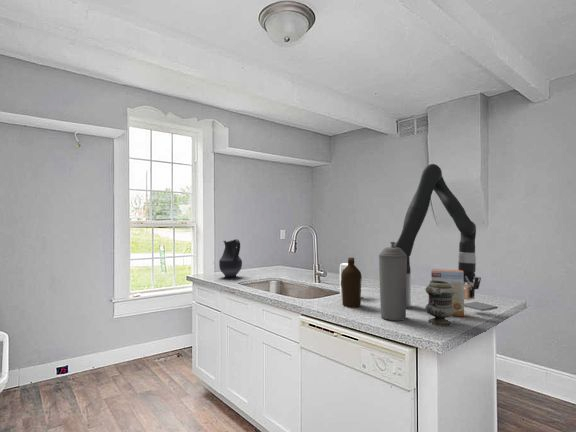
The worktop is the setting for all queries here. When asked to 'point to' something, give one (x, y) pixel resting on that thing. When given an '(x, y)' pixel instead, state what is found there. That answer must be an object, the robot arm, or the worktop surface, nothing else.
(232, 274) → the pitcher
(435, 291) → the apothecary jar
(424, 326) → the worktop surface
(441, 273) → the cracker box
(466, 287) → the lettered block
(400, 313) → the canister
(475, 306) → the charcoal mat
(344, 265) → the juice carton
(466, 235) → the robot arm
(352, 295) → the olive oil
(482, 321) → the worktop surface
